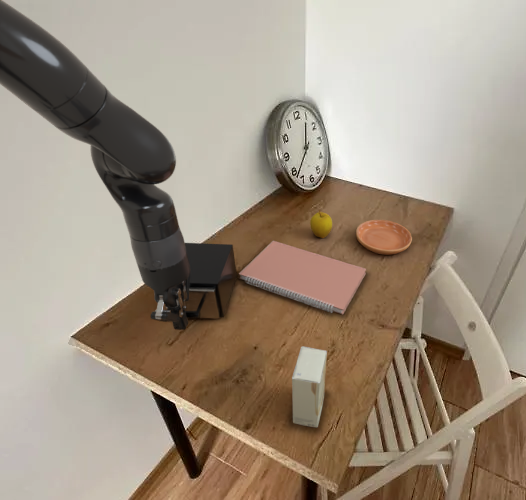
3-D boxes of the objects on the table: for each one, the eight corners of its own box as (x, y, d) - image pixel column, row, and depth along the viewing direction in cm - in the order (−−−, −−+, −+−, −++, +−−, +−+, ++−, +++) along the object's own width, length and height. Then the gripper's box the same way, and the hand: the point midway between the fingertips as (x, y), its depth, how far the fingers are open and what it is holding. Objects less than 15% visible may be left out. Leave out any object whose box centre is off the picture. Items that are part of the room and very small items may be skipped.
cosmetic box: (317, 428, 58) (320, 385, 51) (292, 423, 58) (290, 380, 51) (325, 393, 63) (328, 349, 56) (301, 389, 64) (301, 345, 56)
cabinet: (223, 317, 76) (217, 283, 70) (168, 315, 75) (158, 281, 70) (237, 276, 87) (232, 244, 81) (189, 274, 86) (181, 242, 81)
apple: (315, 227, 107) (315, 204, 102) (334, 233, 105) (336, 209, 100) (306, 238, 102) (306, 214, 97) (326, 244, 100) (328, 220, 96)
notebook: (236, 281, 85) (236, 275, 84) (273, 245, 98) (272, 239, 97) (341, 318, 78) (341, 312, 77) (365, 274, 91) (366, 268, 89)
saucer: (415, 235, 107) (417, 227, 105) (403, 265, 95) (405, 256, 93) (364, 222, 111) (365, 214, 109) (347, 249, 99) (348, 240, 97)
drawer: (213, 334, 71) (207, 306, 66) (160, 333, 70) (150, 305, 66) (232, 279, 85) (228, 253, 80) (187, 278, 84) (181, 251, 79)
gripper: (153, 230, 63) (173, 302, 72) (117, 278, 52) (146, 355, 62) (197, 232, 63) (211, 303, 73) (170, 280, 52) (190, 356, 62)
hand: (181, 326), depth 67 cm, fingers closed
